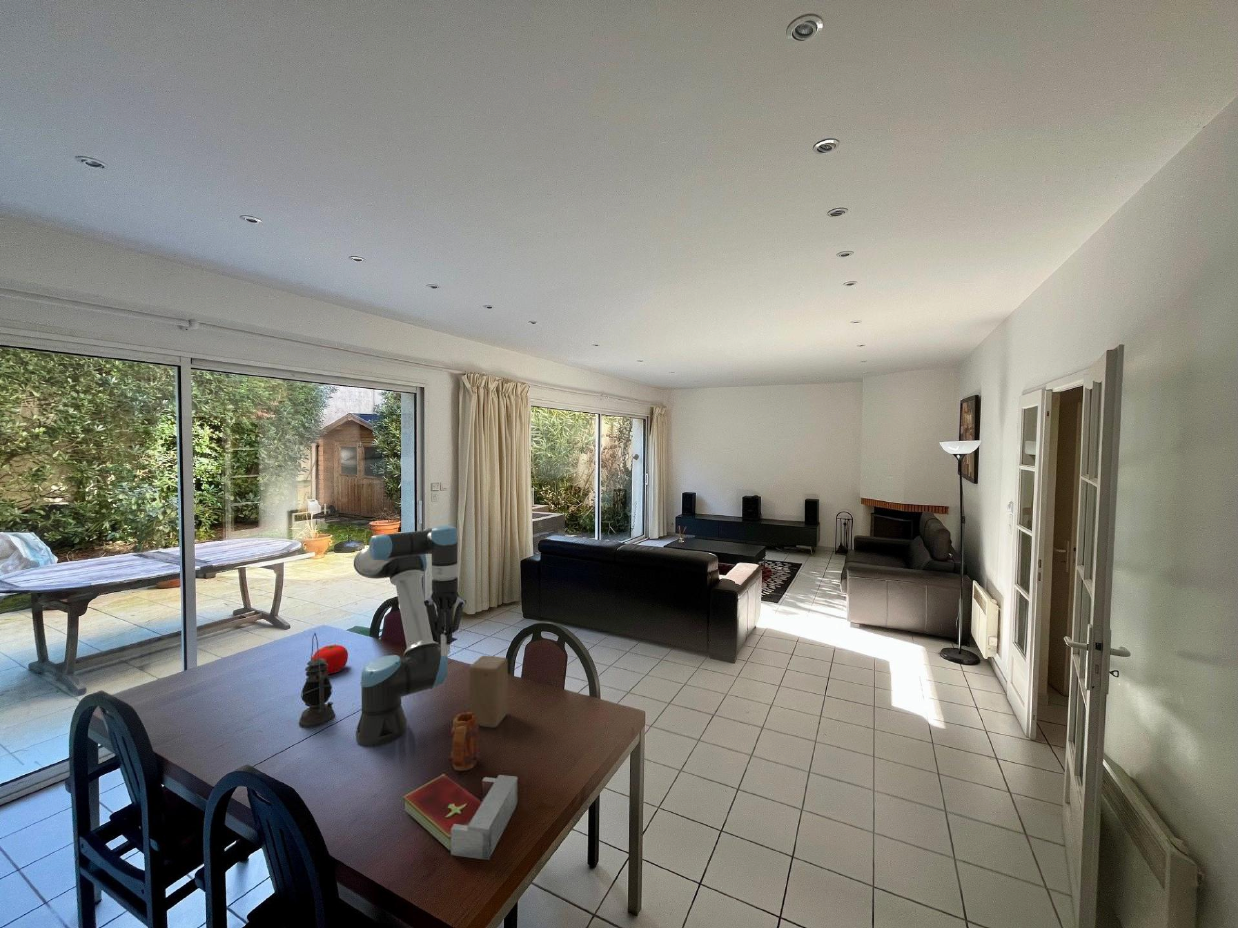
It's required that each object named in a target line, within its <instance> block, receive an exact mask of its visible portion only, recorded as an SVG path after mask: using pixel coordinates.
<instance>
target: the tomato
mask: <svg viewBox="0 0 1238 928" xmlns="http://www.w3.org/2000/svg"><path fill="white" fill-rule="evenodd" d="M318 652H319V658H323V659H326V662H325V663H327V664H328V667H327V672H326V673H325V674H327V675H330V674H336V673H338V672H340V671H342V670H343V669H344V668H345V666H346V665H347V663H348V660H349V653H348V650H347V648H346V647H345V646H343V645H339V644H336V643H335V644H331V645H326V646H325V645H324V646H323V647H321V648H318V651H317V650H316V651H315V653H318ZM315 653H313V654H312V660H314V659H315ZM316 659H318V655H317V654H316Z"/></svg>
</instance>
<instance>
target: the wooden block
mask: <svg viewBox="0 0 1238 928" xmlns="http://www.w3.org/2000/svg"><path fill="white" fill-rule="evenodd" d="M468 674H469V675H468V680H469V682H468V683H469V685H468V689H469V690H468V692H469V693H468V694H469V695H468V696H469V697H468V698H469V700H468V701H469V703H468V704H469V711H468V712H472V713H474V715H475V716H476V722H477V723H479V724H480V726H479V727H486V728H497V727H498V726H499V724H500V723H501V722H502V721H503V720H504V718H505V717H506V716H507V715H508V712H509V711H508V709H509V706H508V705H509V701H508V700H509V699H508V698H509V697H508V695H509V693H508V690H509V689H508V688H509V687H508V684H509V683H508V679H509V677H508V658H507V657H501V656H490V655H482V656H480V657H479V658H478V659H477V660H475V662H473V663H472V664H470V665H469V668H468Z"/></svg>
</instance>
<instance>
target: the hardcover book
mask: <svg viewBox="0 0 1238 928" xmlns="http://www.w3.org/2000/svg"><path fill="white" fill-rule="evenodd" d="M402 799H403V800H404V806H405V807H404V808H405V809H404V811H405V812H407V813H408V814H409V815H410V816H411V817H412V819H414V820H416V821H417V823H419V825H421V826H422V827H423V828H424V829H426V830H427V832H428V833H430V834H431V835H432V836H433V838H435V839H436V840H438V842H440V843H441V844H442V845H443V846H444V847H445V848H446V849H447V850H448V851H451V828H452V826H453V825H454V824H459V825H467V826H468V825H469V823H470V822H471V820H472V818H473V817H474V815H475V813H476V812H477V810H478V809H479V807H480V805H481V804H482V801H481V800H480V799H479V798H477V797H476V796H474V795H473V794H472V793H470V792H469V791H468V790H466V789H465V788H464V787H463V786H461V785H460V784H458V783H457V782H456V781H455V780H453V779H451V778H450V777H449V776H448V775H446V774H445V773H443V774H441V775H439V776H438V777H436V778H434V779H432V780H430V781H429V782H427V783H426V784H423V785H421V786H420V787H418V788H417V789H415V790H413V791H411V792H408V793H407V794H406V795H403V796H402Z"/></svg>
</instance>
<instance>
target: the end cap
mask: <svg viewBox="0 0 1238 928" xmlns="http://www.w3.org/2000/svg"><path fill="white" fill-rule="evenodd" d="M481 783H482V784H481V794H482V795H481V796H482V797H481V800H482V801H481V802H482V804H481V805H480V807H479V809H478V810H477V812H476V813H475V815H474V817H473V818H472V820H471V822H470V823H469V825H468V826H467V825H459V824H454V825H453V826H452V828H451V850H450V854H451V856H456V857H465V858H469V859H470V858H471V859H472V858H473V859H477V860H478V859H480V860H487V861H490V858H492V855H493V852H494V851H495V848H496V846H497V845H498V843H499V841H500V839H501V836H502V835H503V832H504V831H505V829H506V827H507V824H508V823H509V821H510V819H511V817H512V815H513V813H514V811H515V809H516V807H517V805H518V804H519V803H518V776H515V775H512V776H511V775H504V774H498V775H497V777H496V778H495V777H487V776H485V777H483V779H482V780H481Z"/></svg>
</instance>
